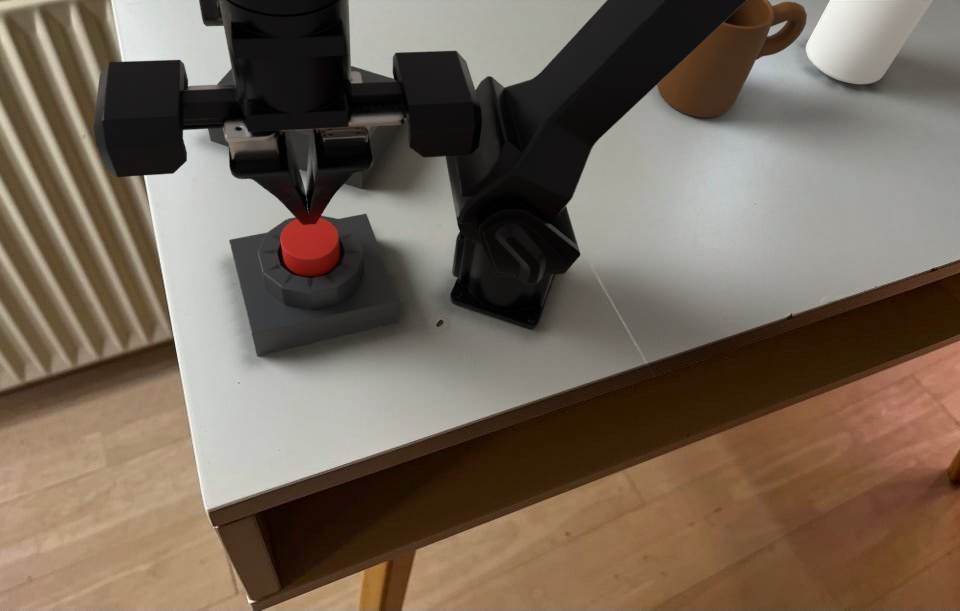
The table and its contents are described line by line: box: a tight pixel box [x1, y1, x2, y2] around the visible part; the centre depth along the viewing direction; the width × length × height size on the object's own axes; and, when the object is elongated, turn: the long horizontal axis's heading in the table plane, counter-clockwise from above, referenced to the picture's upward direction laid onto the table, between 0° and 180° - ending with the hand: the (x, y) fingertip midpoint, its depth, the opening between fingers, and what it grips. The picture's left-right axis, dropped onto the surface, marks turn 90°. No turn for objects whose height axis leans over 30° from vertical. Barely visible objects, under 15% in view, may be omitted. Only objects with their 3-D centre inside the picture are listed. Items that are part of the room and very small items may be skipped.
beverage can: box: [805, 0, 934, 85], centre depth 71 cm, size 8×8×12 cm
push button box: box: [228, 213, 400, 357], centre depth 50 cm, size 10×8×4 cm
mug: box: [656, 0, 808, 118], centre depth 67 cm, size 12×8×9 cm, turn 104°
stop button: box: [280, 218, 340, 277], centre depth 47 cm, size 4×4×2 cm
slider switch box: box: [207, 65, 403, 190], centre depth 59 cm, size 13×9×4 cm
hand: (308, 219), depth 45 cm, fingers closed
